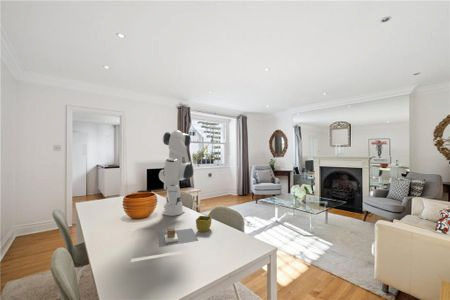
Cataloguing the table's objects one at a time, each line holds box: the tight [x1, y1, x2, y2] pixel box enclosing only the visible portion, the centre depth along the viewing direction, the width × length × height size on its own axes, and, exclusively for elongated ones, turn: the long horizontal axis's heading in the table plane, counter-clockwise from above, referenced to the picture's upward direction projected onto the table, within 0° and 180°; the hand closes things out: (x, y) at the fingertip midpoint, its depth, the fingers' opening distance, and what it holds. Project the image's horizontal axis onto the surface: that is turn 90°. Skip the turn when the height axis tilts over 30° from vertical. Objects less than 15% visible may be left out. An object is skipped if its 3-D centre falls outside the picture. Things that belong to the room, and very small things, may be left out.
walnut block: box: [166, 227, 176, 238], centre depth 118 cm, size 4×4×4 cm
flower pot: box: [195, 215, 213, 233], centre depth 132 cm, size 9×9×9 cm
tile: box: [165, 233, 178, 243], centre depth 117 cm, size 2×7×8 cm
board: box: [157, 227, 199, 247], centre depth 121 cm, size 20×22×1 cm
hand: (171, 208), depth 119 cm, fingers open, 8 cm apart
